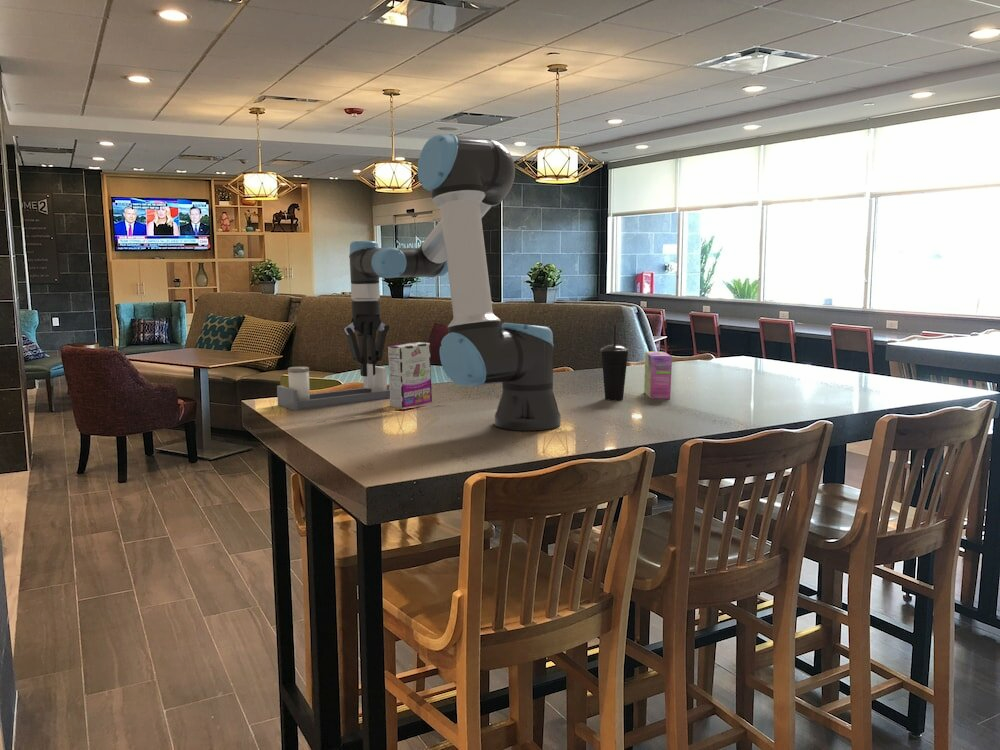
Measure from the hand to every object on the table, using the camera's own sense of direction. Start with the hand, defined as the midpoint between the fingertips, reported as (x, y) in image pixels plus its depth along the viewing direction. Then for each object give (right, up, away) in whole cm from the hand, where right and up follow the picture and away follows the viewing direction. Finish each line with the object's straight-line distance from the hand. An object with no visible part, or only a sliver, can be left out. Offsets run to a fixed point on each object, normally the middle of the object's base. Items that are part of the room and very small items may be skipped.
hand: (368, 387), depth 213 cm
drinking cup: (+66, -3, +2) cm, 66 cm away
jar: (-16, -4, -12) cm, 20 cm away
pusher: (+3, -2, +3) cm, 5 cm away
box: (+79, -3, +7) cm, 79 cm away
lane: (-6, -4, -4) cm, 8 cm away
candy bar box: (+12, -5, -9) cm, 16 cm away
